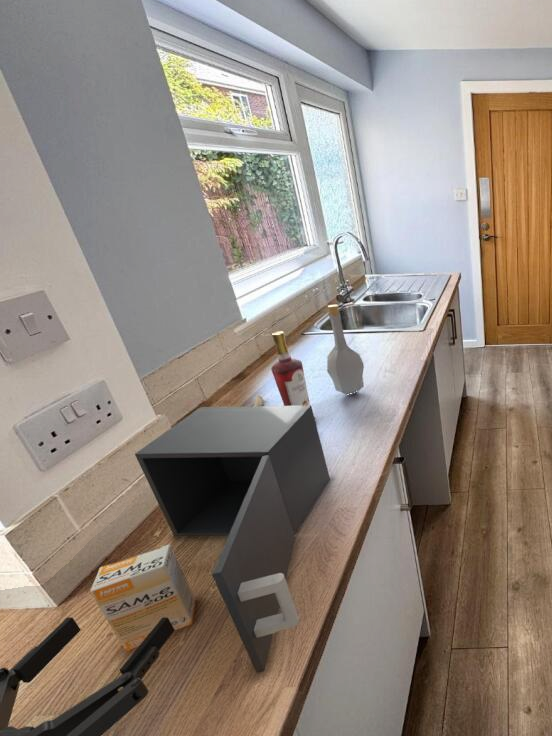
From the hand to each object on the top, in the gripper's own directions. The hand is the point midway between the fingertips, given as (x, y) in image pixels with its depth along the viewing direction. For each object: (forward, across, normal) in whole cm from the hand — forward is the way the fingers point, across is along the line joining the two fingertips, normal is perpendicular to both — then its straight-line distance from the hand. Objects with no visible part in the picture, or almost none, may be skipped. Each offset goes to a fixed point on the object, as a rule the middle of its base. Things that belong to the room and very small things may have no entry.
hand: (121, 623), depth 56 cm
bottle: (+78, +1, -7) cm, 78 cm away
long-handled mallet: (+60, -21, -7) cm, 64 cm away
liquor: (+60, -6, -7) cm, 61 cm away
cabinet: (+29, 0, -7) cm, 30 cm away
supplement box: (+4, 0, -7) cm, 8 cm away
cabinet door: (+10, +18, -7) cm, 22 cm away
